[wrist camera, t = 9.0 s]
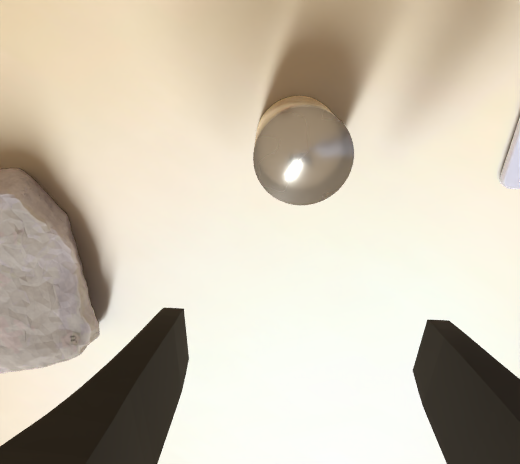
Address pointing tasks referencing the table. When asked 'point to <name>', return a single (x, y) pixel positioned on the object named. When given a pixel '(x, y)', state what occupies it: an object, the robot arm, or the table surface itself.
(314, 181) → the brushed metal tin
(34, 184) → the stone block
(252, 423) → the table surface
